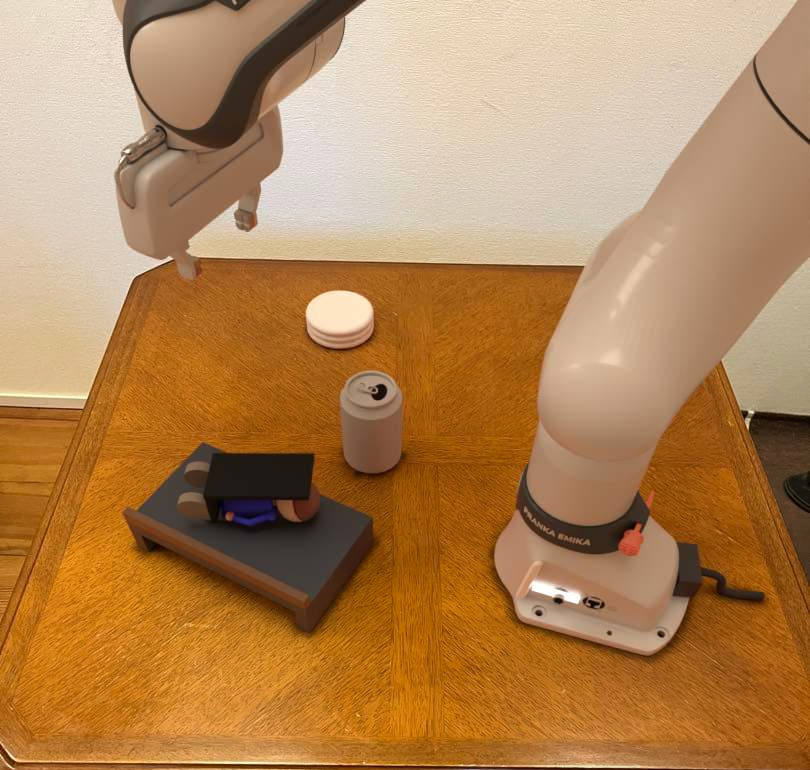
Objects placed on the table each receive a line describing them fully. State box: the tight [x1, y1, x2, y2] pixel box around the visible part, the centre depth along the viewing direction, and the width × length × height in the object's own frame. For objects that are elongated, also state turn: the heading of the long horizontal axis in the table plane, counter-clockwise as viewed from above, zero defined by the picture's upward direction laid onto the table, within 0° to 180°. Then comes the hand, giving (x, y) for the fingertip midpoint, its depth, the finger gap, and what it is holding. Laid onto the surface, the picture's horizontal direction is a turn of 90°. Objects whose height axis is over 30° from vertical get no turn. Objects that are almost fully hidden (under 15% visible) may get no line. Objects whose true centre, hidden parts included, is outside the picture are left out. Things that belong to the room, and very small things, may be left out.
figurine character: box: [177, 452, 321, 526], centre depth 81 cm, size 7×8×15 cm
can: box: [339, 370, 403, 474], centre depth 91 cm, size 8×8×12 cm
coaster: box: [305, 290, 375, 350], centre depth 110 cm, size 10×10×4 cm
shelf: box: [121, 441, 374, 634], centre depth 85 cm, size 24×14×7 cm, turn 62°
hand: (220, 250), depth 74 cm, fingers open, 8 cm apart
